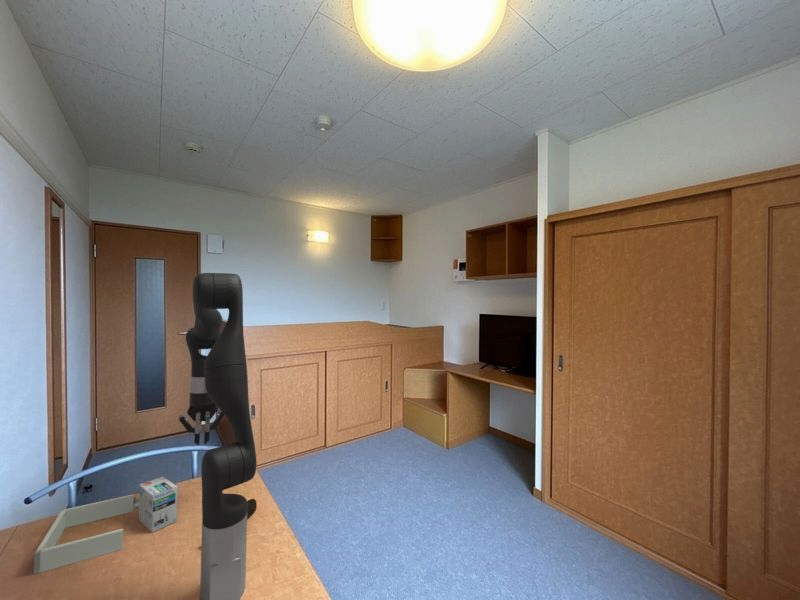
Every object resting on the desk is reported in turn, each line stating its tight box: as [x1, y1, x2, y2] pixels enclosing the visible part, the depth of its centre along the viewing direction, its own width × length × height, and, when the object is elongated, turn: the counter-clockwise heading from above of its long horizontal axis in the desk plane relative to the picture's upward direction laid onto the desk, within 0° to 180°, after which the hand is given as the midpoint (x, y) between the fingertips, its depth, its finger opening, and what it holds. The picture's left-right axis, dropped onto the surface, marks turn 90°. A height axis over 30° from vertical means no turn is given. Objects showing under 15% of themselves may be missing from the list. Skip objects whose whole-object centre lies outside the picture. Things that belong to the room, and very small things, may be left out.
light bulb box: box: [138, 476, 179, 533], centre depth 102 cm, size 11×7×11 cm, turn 56°
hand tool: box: [247, 498, 258, 521], centre depth 99 cm, size 19×4×5 cm, turn 160°
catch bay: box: [33, 494, 135, 575], centre depth 94 cm, size 20×16×5 cm
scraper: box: [133, 496, 139, 510], centre depth 107 cm, size 6×14×2 cm, turn 122°
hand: (201, 443), depth 108 cm, fingers closed
